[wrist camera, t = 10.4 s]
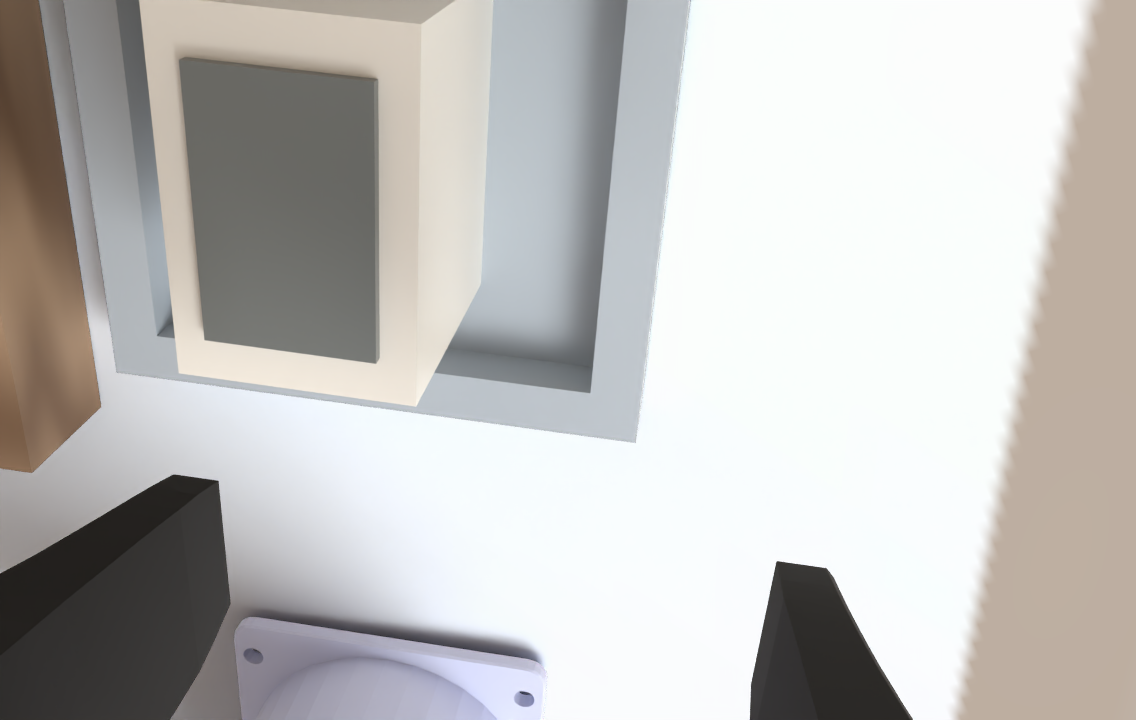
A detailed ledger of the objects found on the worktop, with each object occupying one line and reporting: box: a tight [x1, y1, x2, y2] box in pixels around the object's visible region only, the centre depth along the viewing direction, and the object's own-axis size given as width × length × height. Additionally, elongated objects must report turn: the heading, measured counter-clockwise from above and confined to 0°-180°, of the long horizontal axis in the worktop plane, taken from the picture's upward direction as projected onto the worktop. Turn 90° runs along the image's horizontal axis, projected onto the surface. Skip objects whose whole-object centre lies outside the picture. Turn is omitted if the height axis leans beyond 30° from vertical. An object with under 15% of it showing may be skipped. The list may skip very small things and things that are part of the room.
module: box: [139, 0, 493, 407], centre depth 18 cm, size 6×4×5 cm, turn 175°
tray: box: [63, 0, 691, 443], centre depth 20 cm, size 11×11×2 cm
